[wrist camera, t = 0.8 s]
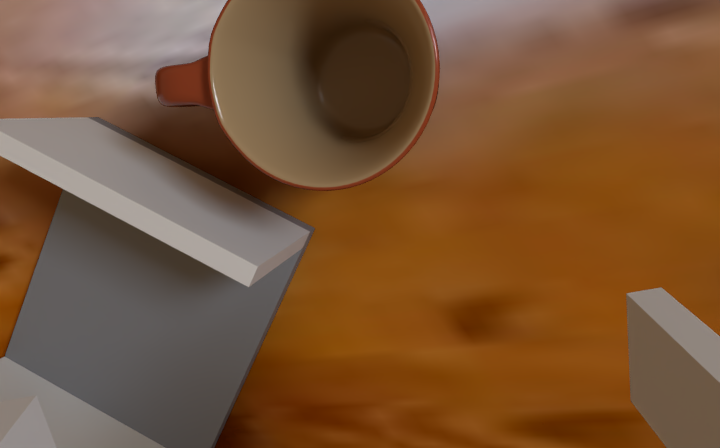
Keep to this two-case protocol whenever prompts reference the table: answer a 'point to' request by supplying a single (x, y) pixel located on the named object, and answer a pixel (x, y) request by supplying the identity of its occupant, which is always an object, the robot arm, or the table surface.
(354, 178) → the mug
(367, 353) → the table surface
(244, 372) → the rack
